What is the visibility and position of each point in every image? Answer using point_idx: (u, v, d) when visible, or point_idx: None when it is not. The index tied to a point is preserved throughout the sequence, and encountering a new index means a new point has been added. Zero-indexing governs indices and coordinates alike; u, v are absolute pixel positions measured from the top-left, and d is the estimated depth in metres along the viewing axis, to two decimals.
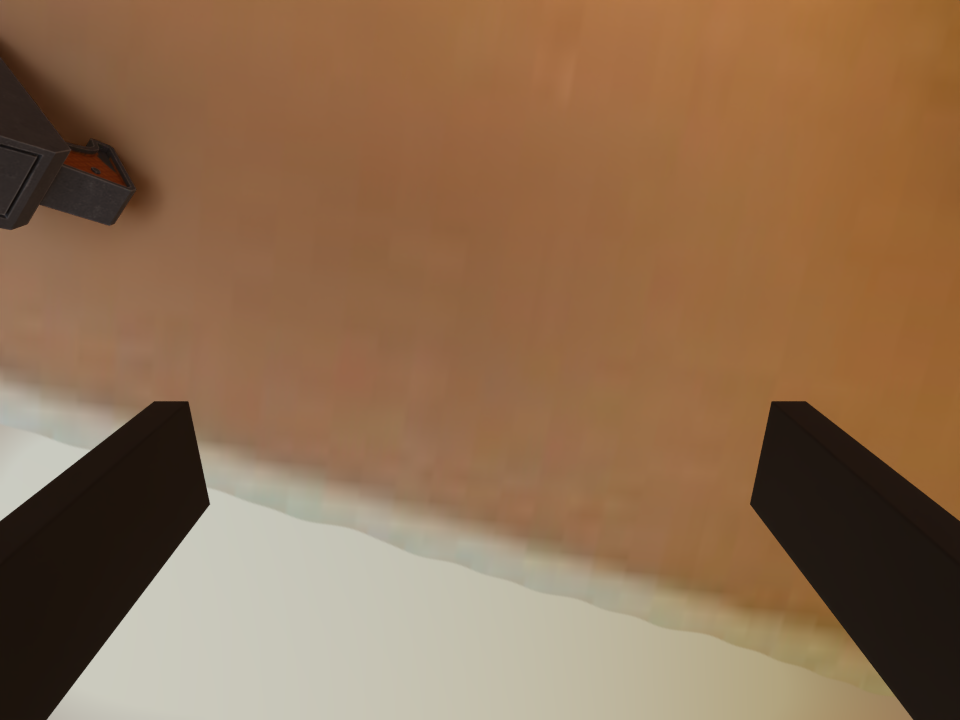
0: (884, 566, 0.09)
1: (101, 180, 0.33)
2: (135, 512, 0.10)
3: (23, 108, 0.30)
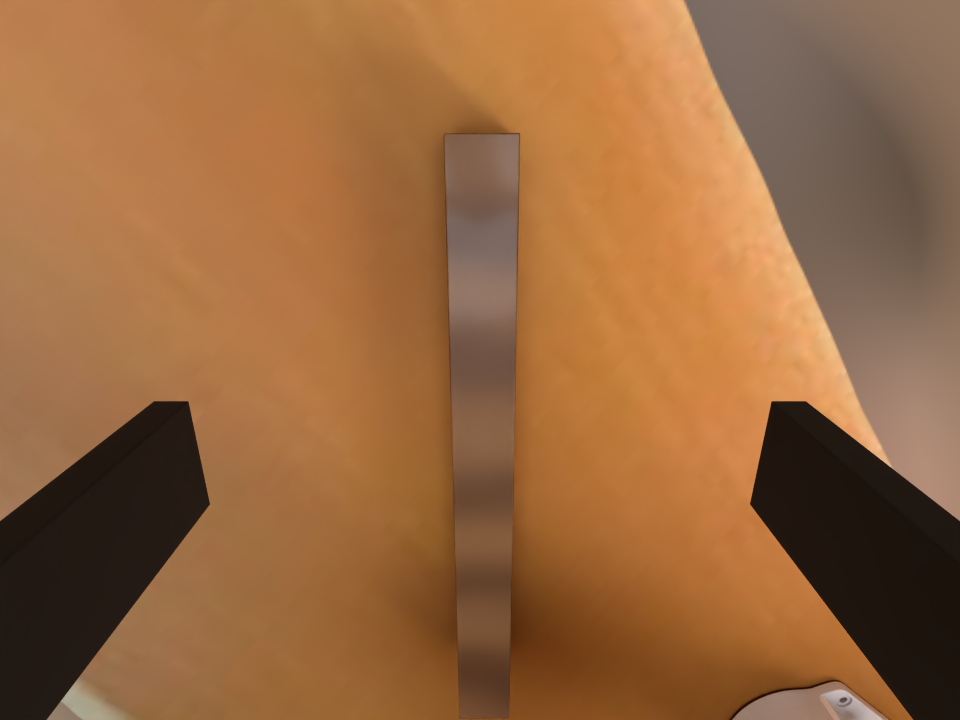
0: (884, 566, 0.09)
1: None
2: (135, 512, 0.10)
3: None
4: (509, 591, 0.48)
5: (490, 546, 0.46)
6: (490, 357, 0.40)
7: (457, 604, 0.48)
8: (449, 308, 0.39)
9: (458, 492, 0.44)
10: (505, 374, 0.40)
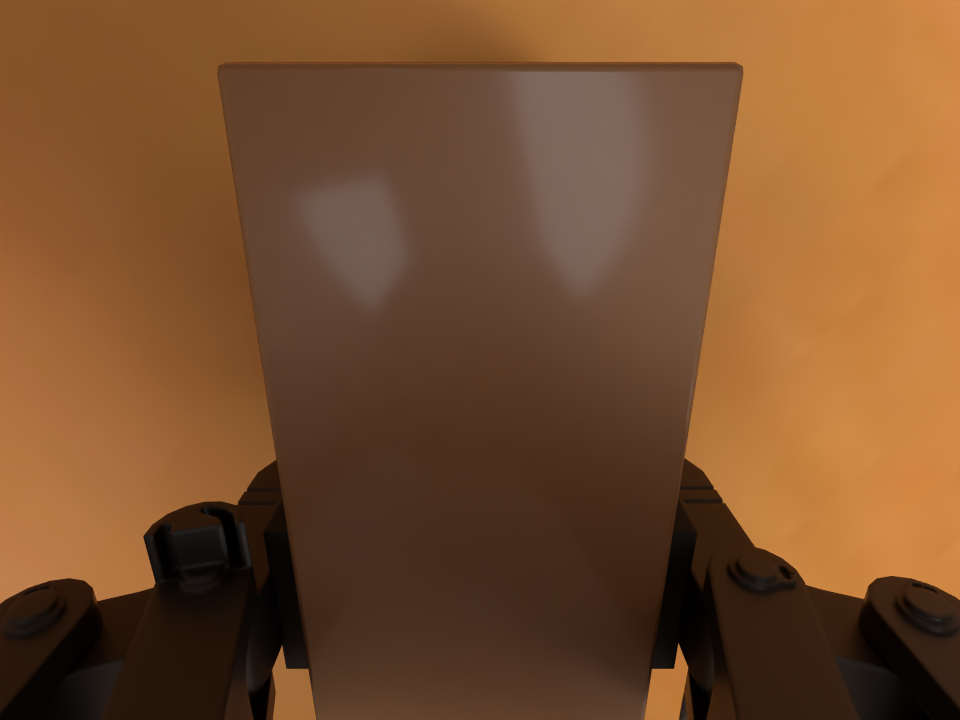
0: None
1: None
2: None
3: None
4: None
5: None
6: None
7: None
8: None
9: None
10: None
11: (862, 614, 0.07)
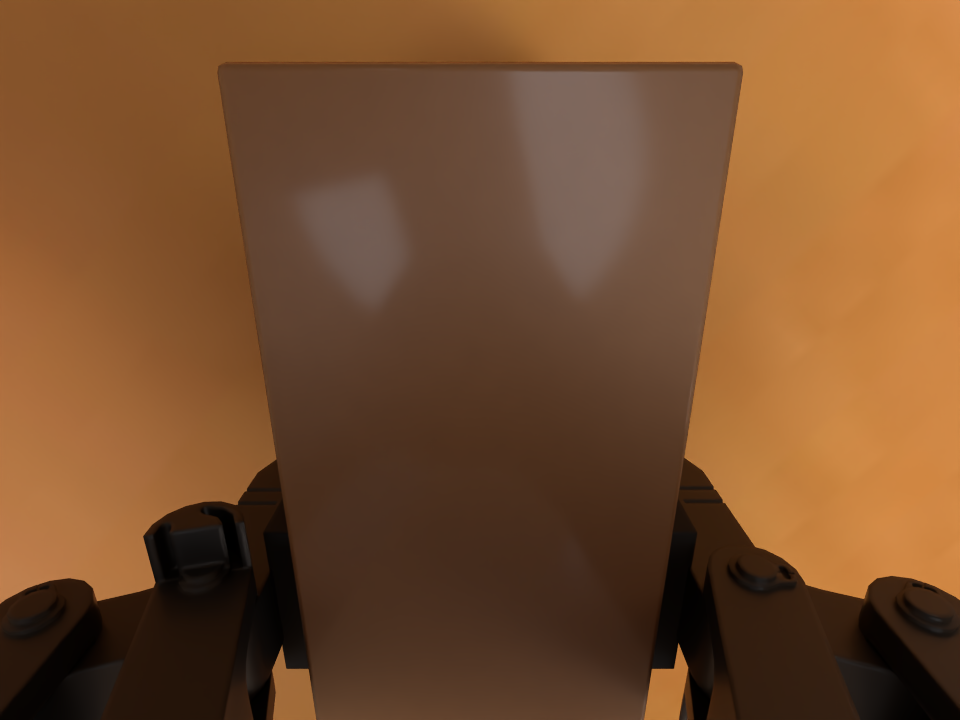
0: None
1: None
2: None
3: None
4: None
5: None
6: None
7: None
8: None
9: None
10: None
11: (862, 614, 0.07)
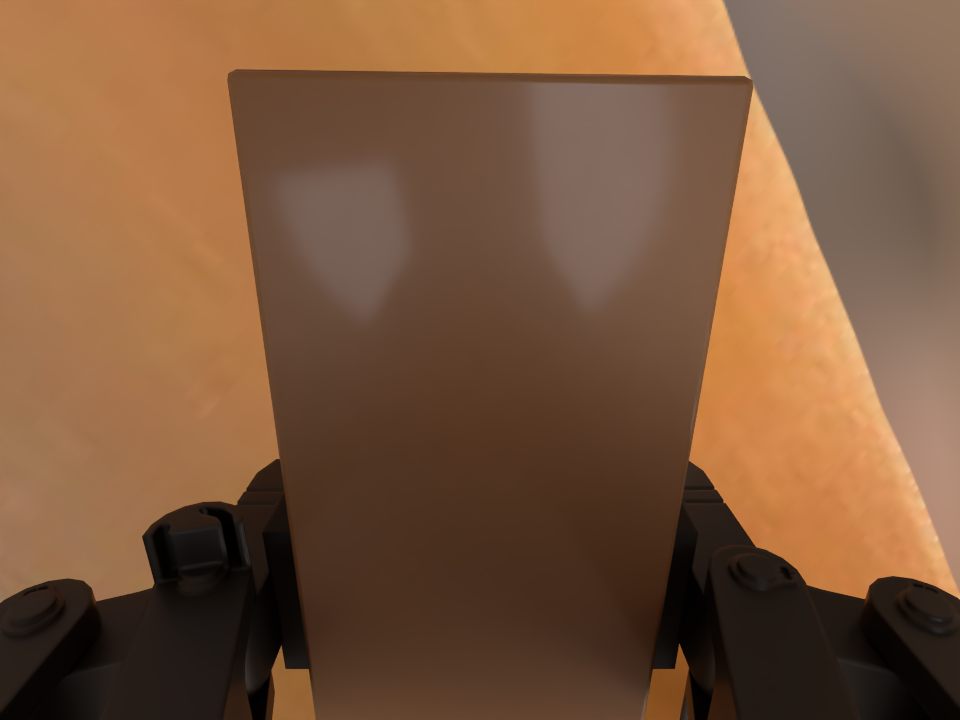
0: None
1: None
2: None
3: None
4: None
5: None
6: None
7: None
8: None
9: None
10: None
11: (863, 614, 0.07)
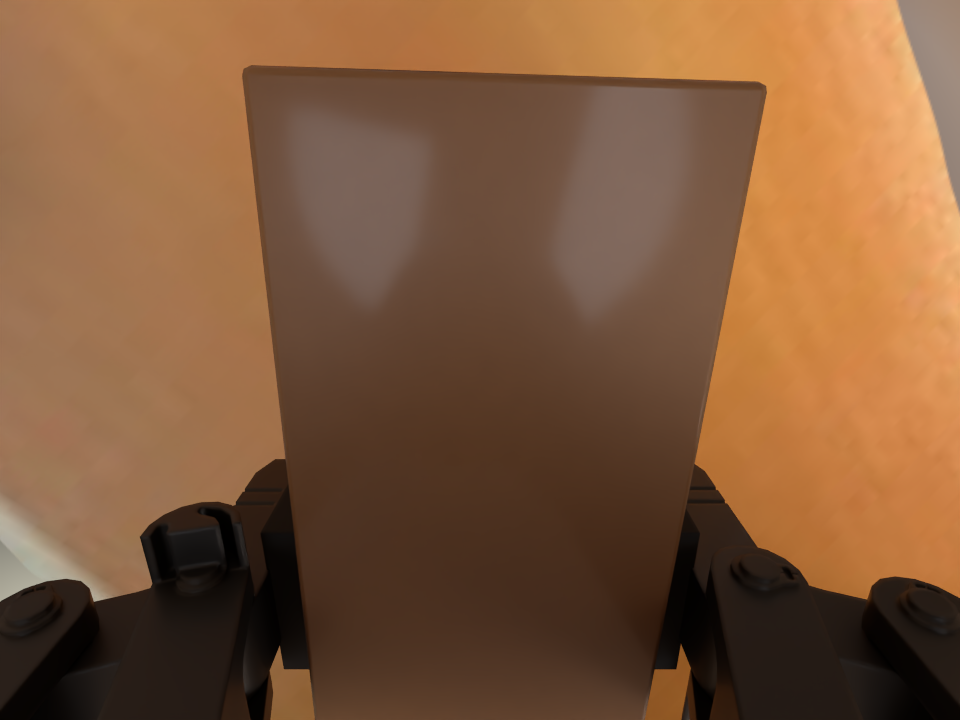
0: None
1: None
2: None
3: None
4: None
5: None
6: None
7: None
8: None
9: None
10: None
11: (865, 614, 0.07)
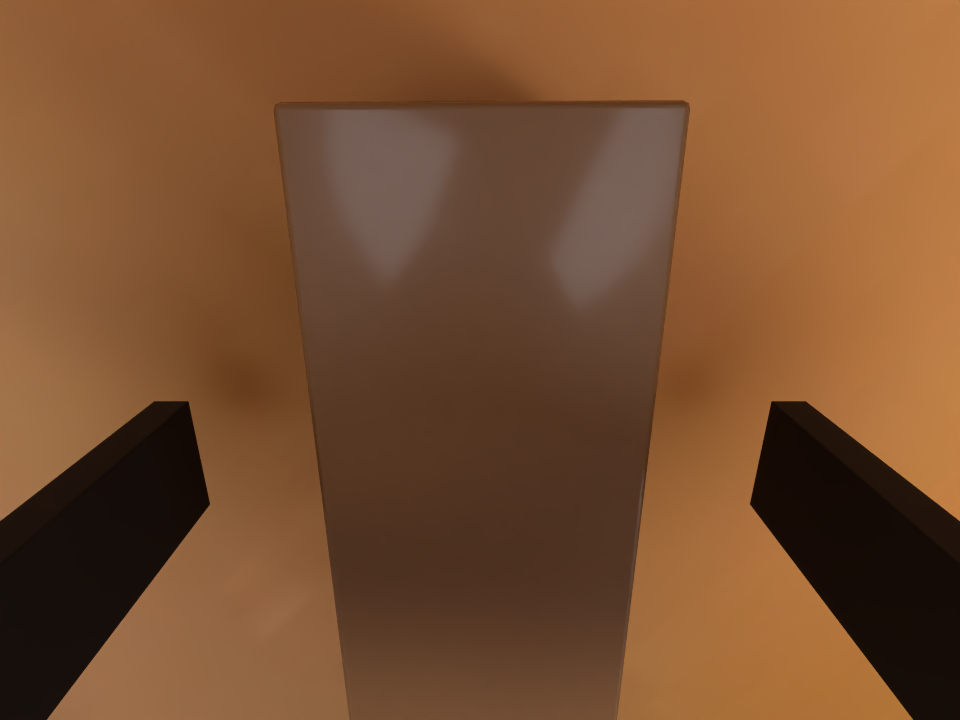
0: (884, 566, 0.09)
1: None
2: (135, 512, 0.10)
3: None
4: None
5: None
6: None
7: None
8: None
9: None
10: None
11: None
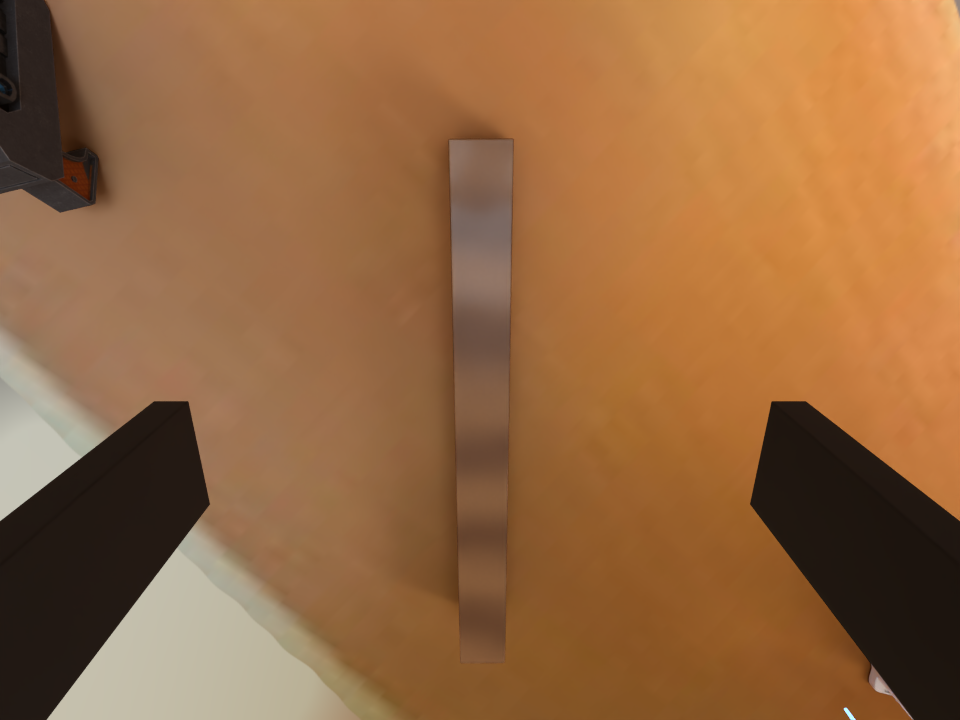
0: (884, 566, 0.09)
1: (73, 193, 0.45)
2: (135, 512, 0.10)
3: (48, 134, 0.42)
4: (505, 544, 0.54)
5: (488, 503, 0.52)
6: (488, 333, 0.46)
7: (458, 556, 0.54)
8: (452, 289, 0.45)
9: (460, 453, 0.50)
10: (501, 347, 0.46)
11: None
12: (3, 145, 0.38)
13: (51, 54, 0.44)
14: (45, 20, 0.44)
